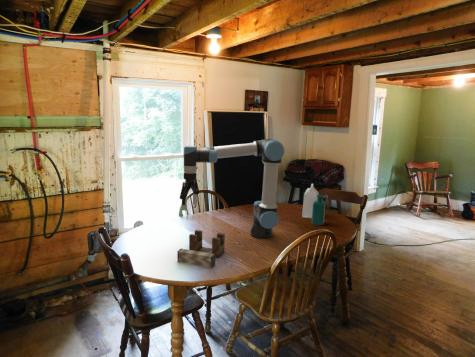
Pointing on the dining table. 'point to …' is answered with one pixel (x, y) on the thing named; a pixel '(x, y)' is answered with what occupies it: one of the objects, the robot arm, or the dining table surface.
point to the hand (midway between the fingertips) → (189, 207)
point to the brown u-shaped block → (196, 245)
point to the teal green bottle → (318, 210)
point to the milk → (309, 201)
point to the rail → (196, 258)
